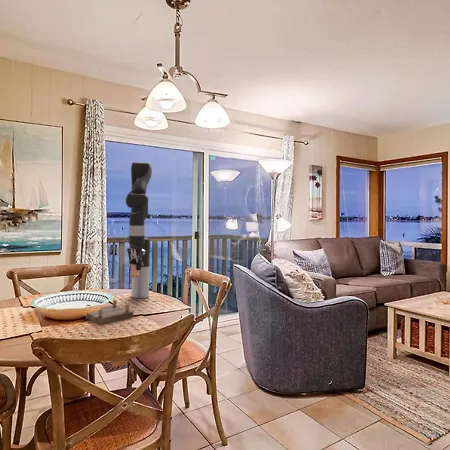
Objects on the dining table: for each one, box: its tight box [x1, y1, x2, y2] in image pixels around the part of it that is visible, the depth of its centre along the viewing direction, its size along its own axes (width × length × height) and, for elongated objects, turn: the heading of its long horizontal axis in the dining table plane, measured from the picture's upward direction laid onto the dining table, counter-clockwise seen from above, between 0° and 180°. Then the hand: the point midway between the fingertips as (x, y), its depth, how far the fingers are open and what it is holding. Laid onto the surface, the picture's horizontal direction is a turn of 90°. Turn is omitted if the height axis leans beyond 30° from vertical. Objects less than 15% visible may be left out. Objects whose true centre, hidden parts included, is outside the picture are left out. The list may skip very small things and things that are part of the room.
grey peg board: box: [85, 299, 134, 326], centre depth 160 cm, size 16×16×6 cm
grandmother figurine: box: [127, 252, 144, 279], centre depth 175 cm, size 8×4×13 cm, turn 131°
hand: (136, 269), depth 175 cm, fingers closed on grandmother figurine, 3 cm apart
